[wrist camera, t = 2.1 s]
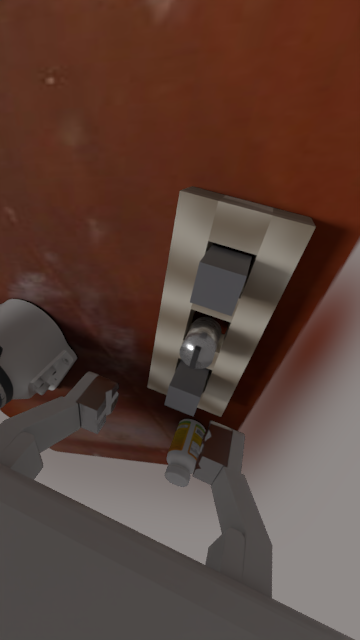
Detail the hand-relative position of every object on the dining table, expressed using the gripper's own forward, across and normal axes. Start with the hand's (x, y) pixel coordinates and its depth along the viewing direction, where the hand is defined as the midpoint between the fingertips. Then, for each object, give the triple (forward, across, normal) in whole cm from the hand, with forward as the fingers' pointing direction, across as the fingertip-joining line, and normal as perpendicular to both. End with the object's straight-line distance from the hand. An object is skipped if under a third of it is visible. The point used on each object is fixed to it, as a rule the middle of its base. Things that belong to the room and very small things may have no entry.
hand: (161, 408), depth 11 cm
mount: (+21, 0, +8) cm, 23 cm away
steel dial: (+18, 0, +8) cm, 19 cm away
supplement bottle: (+21, -3, +34) cm, 40 cm away
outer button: (+18, 0, 0) cm, 18 cm away
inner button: (+18, 0, +16) cm, 24 cm away
